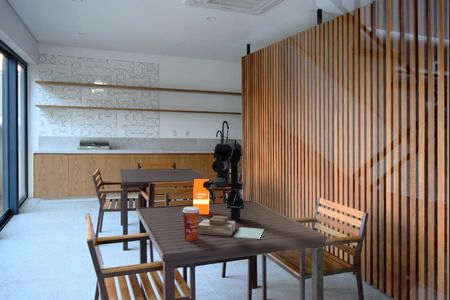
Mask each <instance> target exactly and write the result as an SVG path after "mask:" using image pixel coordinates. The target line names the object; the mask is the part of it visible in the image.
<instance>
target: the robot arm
mask: <svg viewBox="0 0 450 300" xmlns="http://www.w3.org/2000/svg"><path fill="white" fill-rule="evenodd" d="M243 156H244V150H243V146H242V145H241V144H240V143H238V139H227V141H225V142H223V143H217V144H216V145H215V146H214V152H213V157H212V158H213V159H215V160H214V161H213V162H212V165H211V168H212V170H213V172H215V173H216V177H215V179H214V180H209V181H205V182H204V183H203V188H206V190H208V191H209V196H210V197H211V201H212V203H214V204H215V202H216V197H215V196H216V195H215V194H216V192H215V191H216V190H215V189H218V188H219V189H225V188H230V191H229V193H228V194H227V198H226V208H227V209H229V211H230V215H229V217H228V221H238V222H241V221H242V219H243V216H242V215H241V213H242V211H241V210H244V209H245V201H244V198H243V195H242V192H241V190H243V189H245V183H244V181H240V162H241V161H242V159H243Z"/></svg>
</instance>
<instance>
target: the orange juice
mask: <svg viewBox="0 0 450 300" xmlns="http://www.w3.org/2000/svg"><path fill="white" fill-rule="evenodd" d="M205 181H210V179H209V178H194V180H193V190H192V191H193V196H192V197H193V198H192V199H193V200H192V201H193V202H192V203H193V204H192V205H193V206H192V207H197V208H198V209H199V211H200V212H199V215H209V212H210V193H209V191H208V190H206V188H203V183H204V182H205Z"/></svg>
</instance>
